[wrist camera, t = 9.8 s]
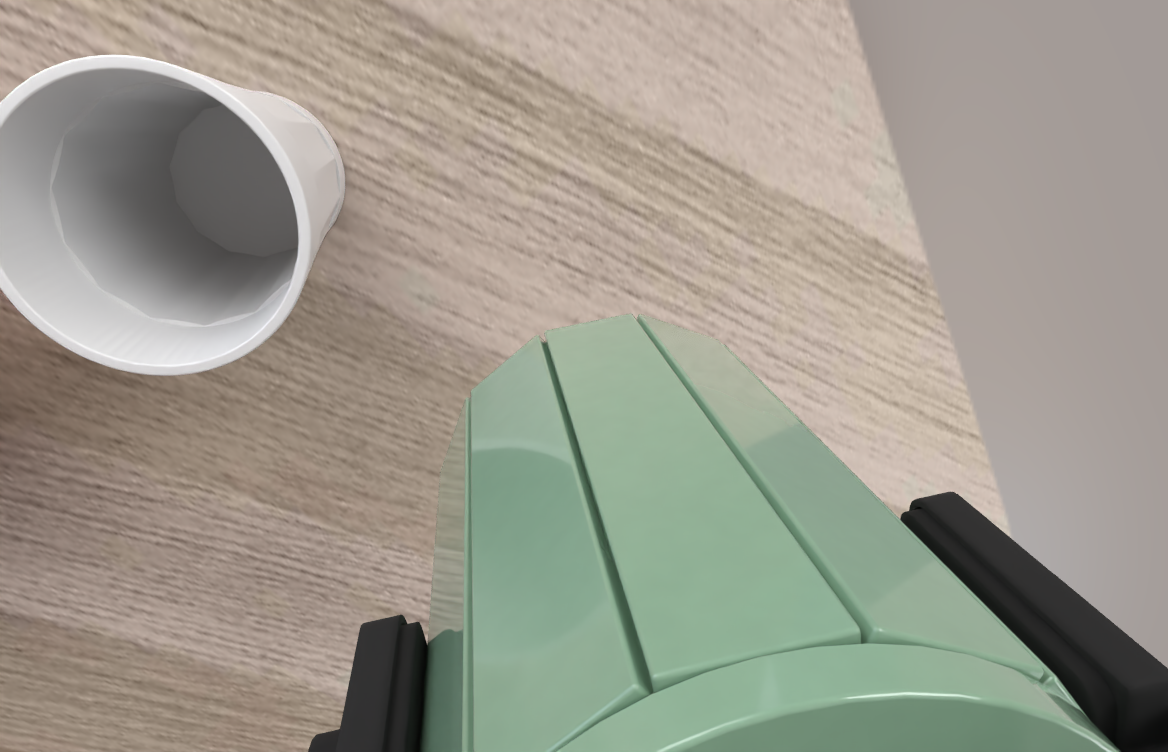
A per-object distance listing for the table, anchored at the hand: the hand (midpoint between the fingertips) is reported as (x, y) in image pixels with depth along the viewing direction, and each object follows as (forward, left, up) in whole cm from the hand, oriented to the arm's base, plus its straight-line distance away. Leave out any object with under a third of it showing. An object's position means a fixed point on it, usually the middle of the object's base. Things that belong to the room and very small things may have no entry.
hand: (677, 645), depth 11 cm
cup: (+10, -6, -24) cm, 27 cm away
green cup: (0, 0, -5) cm, 5 cm away
